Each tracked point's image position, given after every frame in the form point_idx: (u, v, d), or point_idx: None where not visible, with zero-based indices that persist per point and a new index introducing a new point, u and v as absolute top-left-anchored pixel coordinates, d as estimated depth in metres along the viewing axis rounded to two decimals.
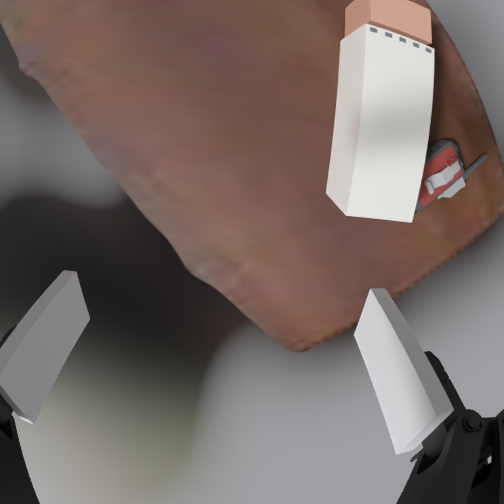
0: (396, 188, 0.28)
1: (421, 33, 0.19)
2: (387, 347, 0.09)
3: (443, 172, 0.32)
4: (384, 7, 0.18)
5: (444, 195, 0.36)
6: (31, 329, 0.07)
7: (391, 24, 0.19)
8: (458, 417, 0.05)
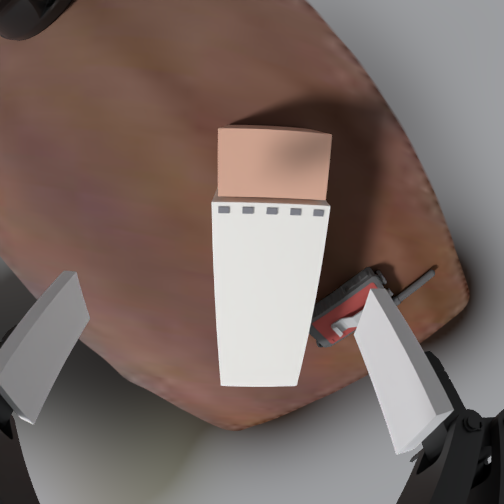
0: (271, 366, 0.29)
1: (307, 189, 0.20)
2: (387, 347, 0.09)
3: (355, 317, 0.33)
4: (241, 163, 0.19)
5: None
6: (31, 329, 0.07)
7: (253, 192, 0.20)
8: (458, 417, 0.05)
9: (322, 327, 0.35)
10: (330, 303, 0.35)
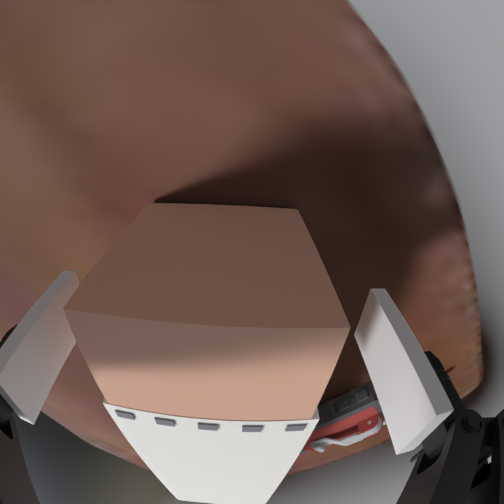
0: (232, 498, 0.18)
1: (275, 410, 0.09)
2: (387, 347, 0.09)
3: (343, 441, 0.22)
4: (130, 373, 0.08)
5: None
6: (31, 329, 0.07)
7: (166, 409, 0.09)
8: (458, 417, 0.05)
9: None
10: None
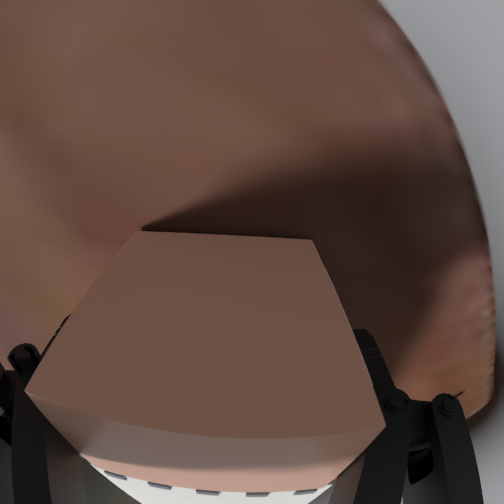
0: None
1: (284, 486, 0.06)
2: None
3: None
4: (114, 455, 0.05)
5: None
6: None
7: (160, 481, 0.06)
8: (377, 397, 0.07)
9: None
10: None
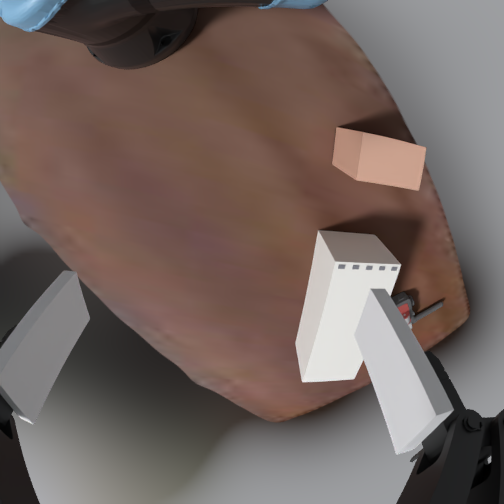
0: (342, 365, 0.40)
1: (409, 181, 0.27)
2: (387, 347, 0.09)
3: None
4: (374, 158, 0.26)
5: None
6: (31, 329, 0.07)
7: (378, 180, 0.27)
8: (458, 417, 0.05)
9: None
10: None
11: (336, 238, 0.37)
